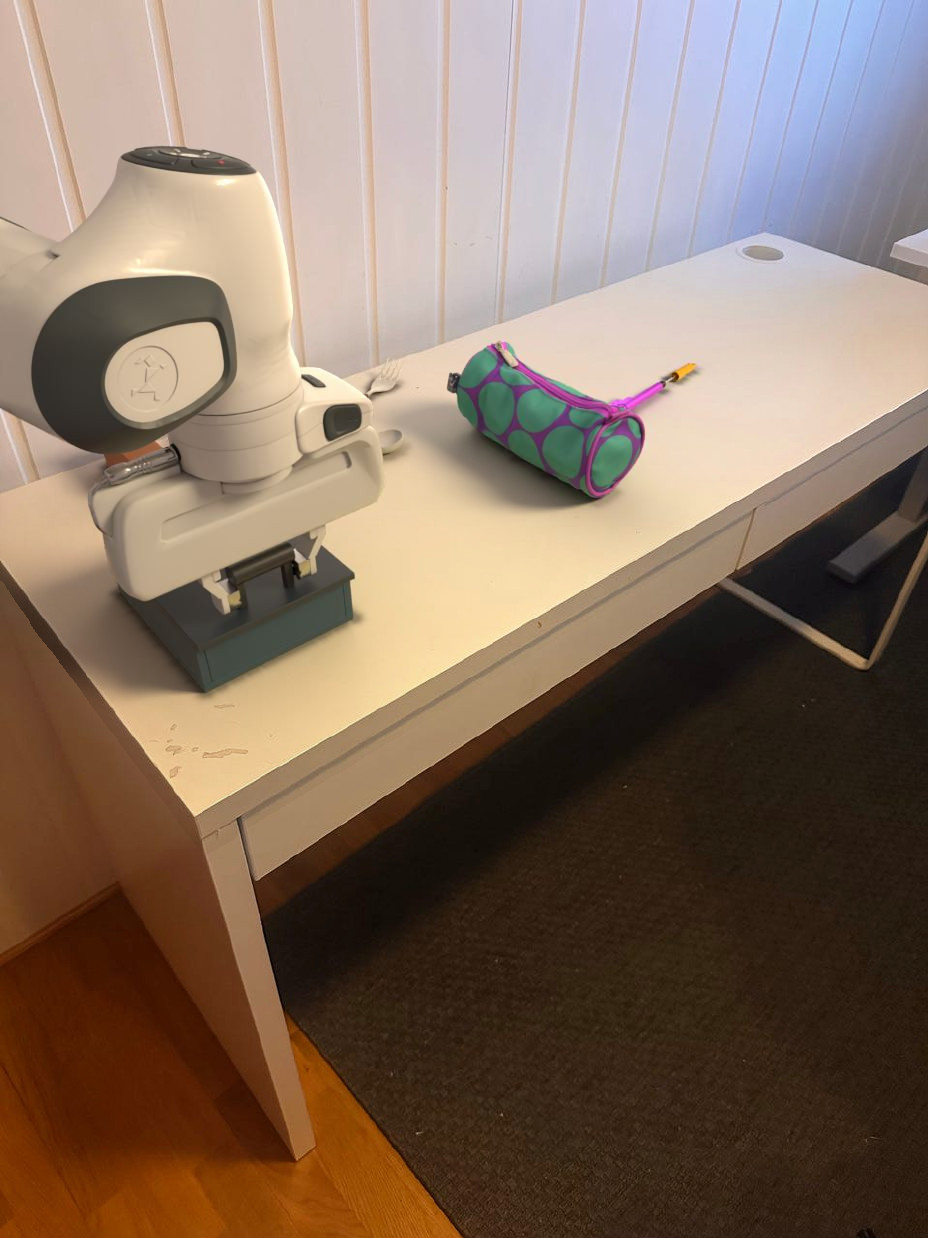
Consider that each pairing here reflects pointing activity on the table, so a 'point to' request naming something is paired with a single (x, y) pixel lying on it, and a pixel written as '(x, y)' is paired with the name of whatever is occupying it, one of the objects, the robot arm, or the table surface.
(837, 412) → the table surface
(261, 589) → the lid
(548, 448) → the pencil case
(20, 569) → the table surface
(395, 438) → the spoon
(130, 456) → the brown rectangular block
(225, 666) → the teal shallow open box
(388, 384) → the fork
